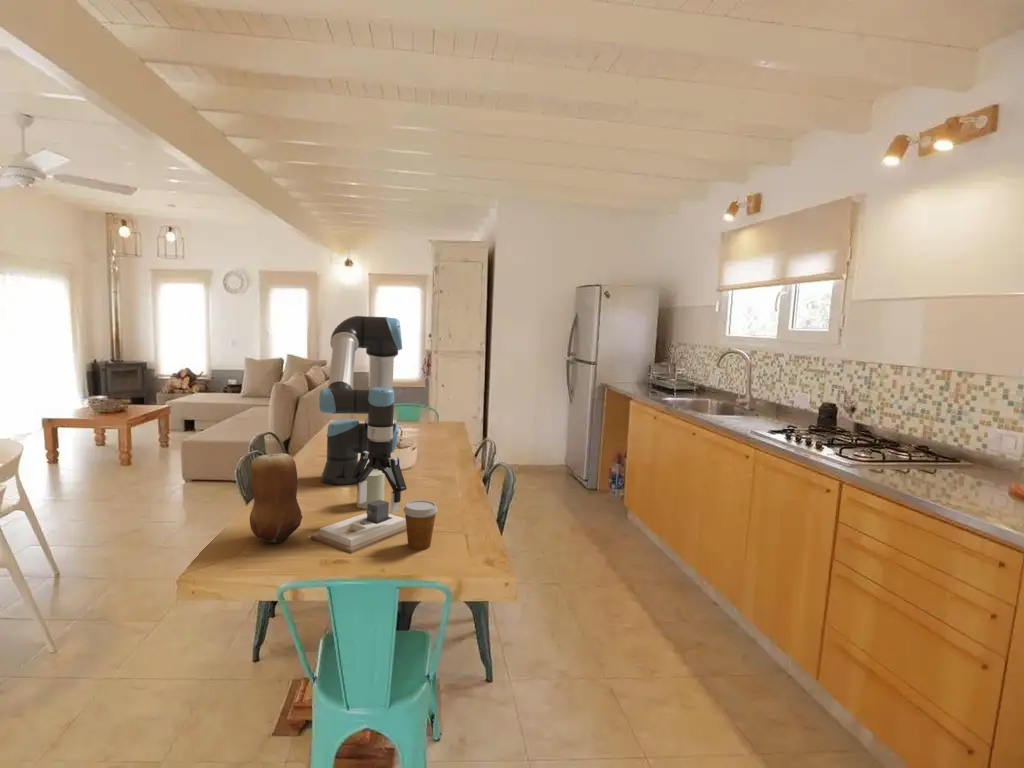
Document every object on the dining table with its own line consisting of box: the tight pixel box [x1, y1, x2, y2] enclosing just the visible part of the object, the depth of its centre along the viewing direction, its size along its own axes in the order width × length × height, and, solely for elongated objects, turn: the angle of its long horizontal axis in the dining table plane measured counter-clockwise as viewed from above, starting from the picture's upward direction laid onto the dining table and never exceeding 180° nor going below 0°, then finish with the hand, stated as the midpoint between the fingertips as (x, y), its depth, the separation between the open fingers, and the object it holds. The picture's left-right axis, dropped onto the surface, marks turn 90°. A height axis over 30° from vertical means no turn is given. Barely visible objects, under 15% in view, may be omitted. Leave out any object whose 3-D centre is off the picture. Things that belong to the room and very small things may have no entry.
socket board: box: [310, 512, 407, 554], centre depth 172 cm, size 17×25×3 cm
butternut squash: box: [249, 452, 303, 543], centre depth 161 cm, size 14×13×25 cm
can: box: [356, 469, 386, 510], centre depth 196 cm, size 9×9×12 cm
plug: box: [365, 500, 390, 524], centre depth 175 cm, size 4×7×7 cm, turn 149°
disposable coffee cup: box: [403, 499, 438, 551], centre depth 164 cm, size 10×10×12 cm
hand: (378, 507), depth 176 cm, fingers open, 13 cm apart
